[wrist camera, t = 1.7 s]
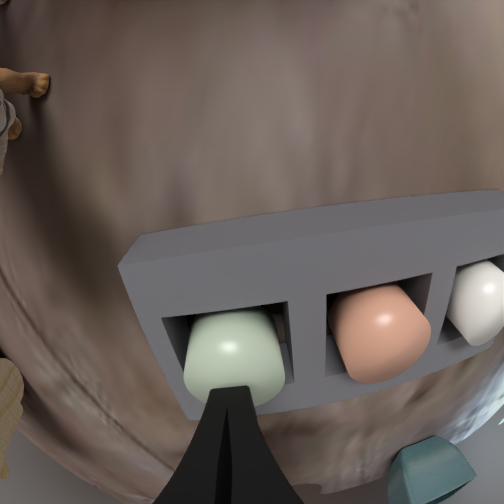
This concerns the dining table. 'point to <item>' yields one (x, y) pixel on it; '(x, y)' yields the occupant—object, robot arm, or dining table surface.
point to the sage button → (234, 353)
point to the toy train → (9, 407)
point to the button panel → (313, 282)
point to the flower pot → (428, 473)
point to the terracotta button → (378, 331)
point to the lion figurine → (3, 113)
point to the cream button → (477, 301)
